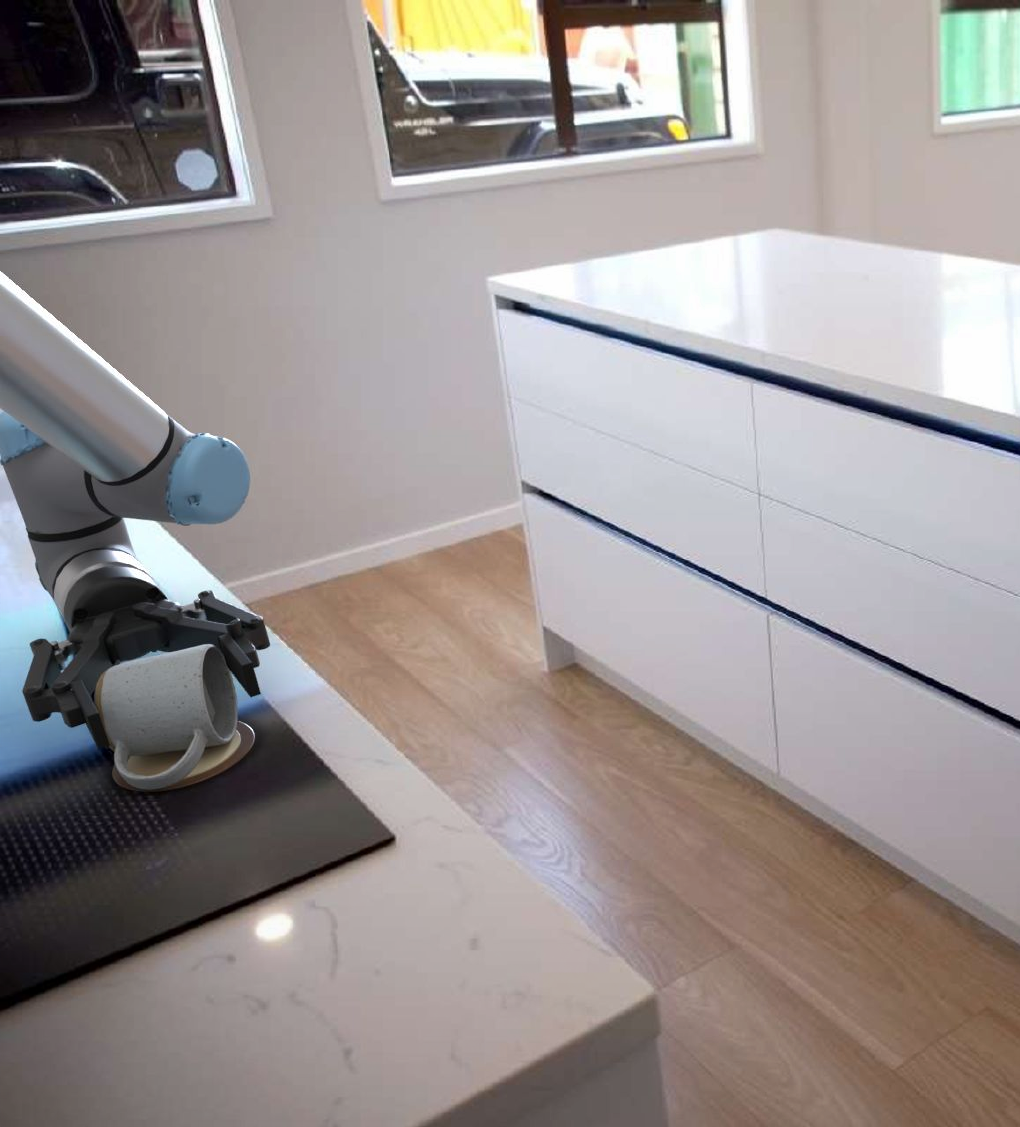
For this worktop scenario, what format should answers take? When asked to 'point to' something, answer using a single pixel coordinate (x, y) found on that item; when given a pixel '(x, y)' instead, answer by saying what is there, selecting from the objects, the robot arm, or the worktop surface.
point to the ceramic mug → (167, 709)
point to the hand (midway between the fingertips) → (177, 705)
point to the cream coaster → (207, 767)
